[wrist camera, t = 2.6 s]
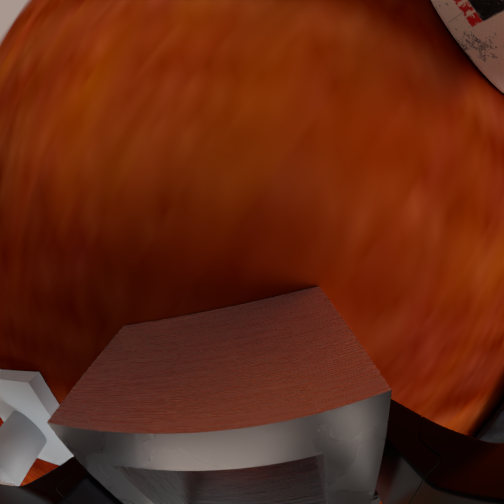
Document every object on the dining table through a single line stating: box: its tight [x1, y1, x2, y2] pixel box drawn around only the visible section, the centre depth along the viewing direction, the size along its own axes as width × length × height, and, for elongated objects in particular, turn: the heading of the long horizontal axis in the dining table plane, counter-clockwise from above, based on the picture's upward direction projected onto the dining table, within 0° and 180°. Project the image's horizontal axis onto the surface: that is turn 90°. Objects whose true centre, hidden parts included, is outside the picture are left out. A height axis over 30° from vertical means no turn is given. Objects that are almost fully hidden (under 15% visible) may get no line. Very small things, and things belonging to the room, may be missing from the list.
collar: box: [47, 286, 391, 504], centre depth 7 cm, size 7×7×5 cm
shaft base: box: [0, 369, 74, 486], centre depth 7 cm, size 7×7×6 cm
